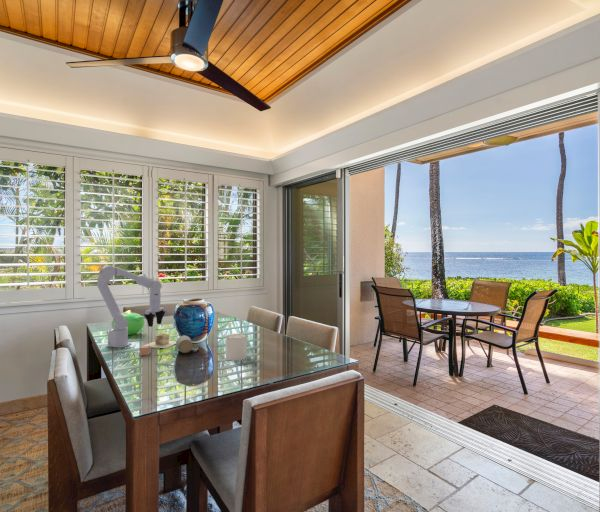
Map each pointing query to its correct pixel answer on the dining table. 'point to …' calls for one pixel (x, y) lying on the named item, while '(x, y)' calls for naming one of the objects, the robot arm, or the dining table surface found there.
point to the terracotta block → (145, 350)
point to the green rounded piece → (133, 322)
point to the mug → (236, 346)
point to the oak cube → (161, 339)
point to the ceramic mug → (185, 344)
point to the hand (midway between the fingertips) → (154, 325)
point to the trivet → (161, 345)
